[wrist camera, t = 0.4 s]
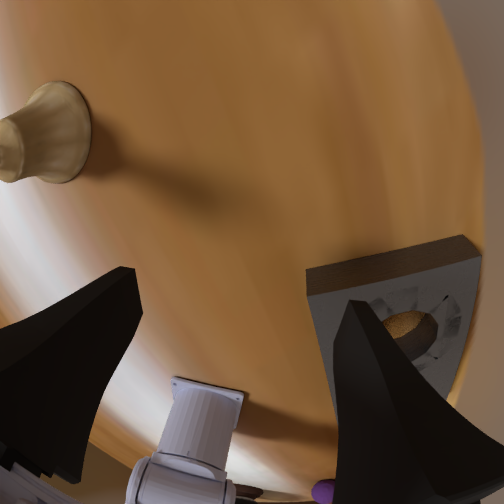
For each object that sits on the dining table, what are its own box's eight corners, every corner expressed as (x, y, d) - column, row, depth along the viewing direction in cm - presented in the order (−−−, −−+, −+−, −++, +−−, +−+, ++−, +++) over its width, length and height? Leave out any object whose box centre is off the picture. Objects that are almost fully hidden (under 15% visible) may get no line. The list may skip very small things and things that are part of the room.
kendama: (315, 507, 51) (306, 501, 41) (321, 488, 56) (313, 476, 45) (338, 509, 49) (336, 503, 38) (343, 490, 53) (342, 478, 43)
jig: (436, 388, 26) (442, 408, 23) (338, 410, 29) (339, 432, 26) (462, 234, 17) (481, 255, 14) (305, 269, 20) (306, 296, 18)
